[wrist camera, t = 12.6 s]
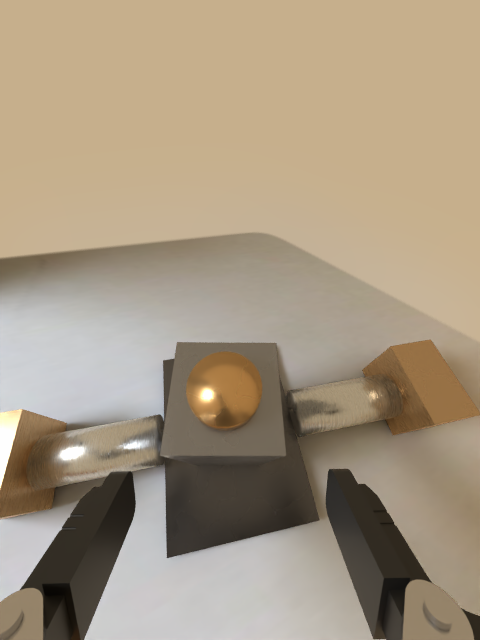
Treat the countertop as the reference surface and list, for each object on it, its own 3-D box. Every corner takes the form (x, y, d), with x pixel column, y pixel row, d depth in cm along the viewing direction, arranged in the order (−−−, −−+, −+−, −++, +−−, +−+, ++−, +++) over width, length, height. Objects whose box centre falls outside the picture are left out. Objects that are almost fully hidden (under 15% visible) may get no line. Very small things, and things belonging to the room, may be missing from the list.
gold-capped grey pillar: (262, 464, 16) (290, 454, 8) (195, 464, 16) (153, 454, 8) (259, 397, 19) (278, 334, 10) (201, 397, 18) (173, 333, 10)
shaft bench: (-25, 603, 13) (-130, 655, 9) (34, 383, 19) (-14, 361, 15) (461, 483, 16) (529, 486, 12) (375, 328, 22) (403, 299, 19)
